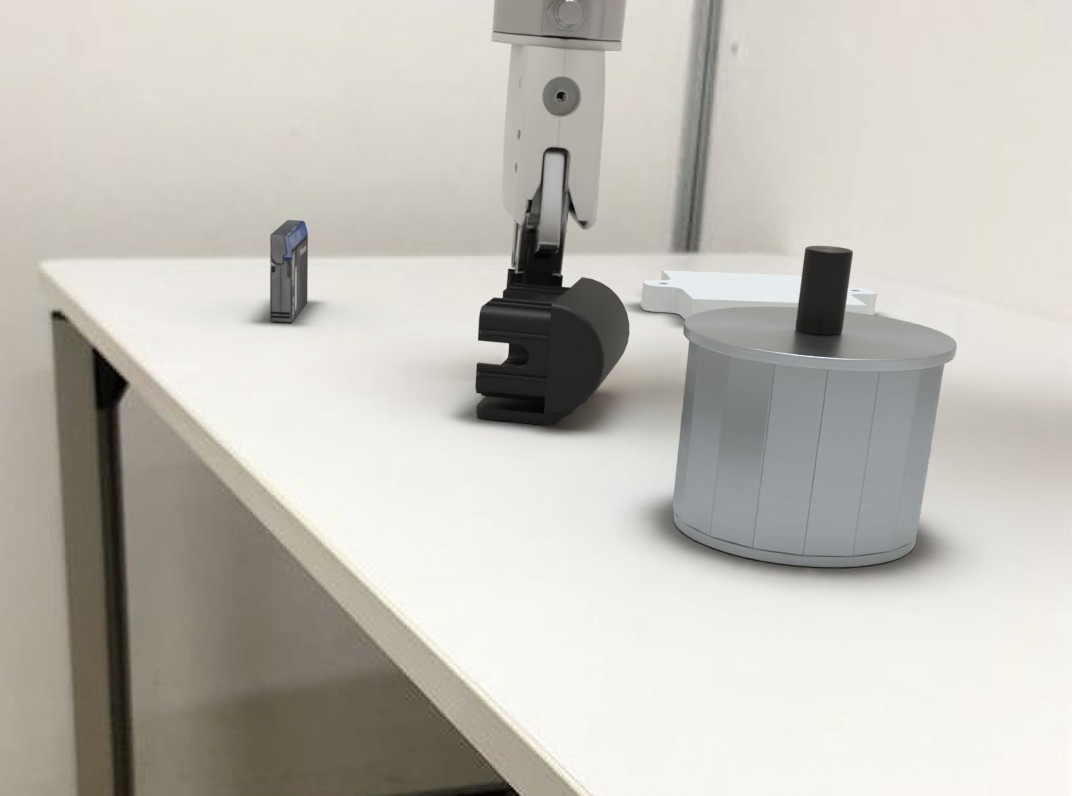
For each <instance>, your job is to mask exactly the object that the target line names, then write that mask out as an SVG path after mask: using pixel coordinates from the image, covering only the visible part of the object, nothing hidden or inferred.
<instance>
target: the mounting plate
mask: <svg viewBox="0 0 1072 796" xmlns="http://www.w3.org/2000/svg"><path fill="white" fill-rule="evenodd" d="M660 276H661V277H660V279H645V280H643V281H642V289H641V301H640V308H641V309H642V310H644V311H646V312H653V313H671V314H677V315H679V316H681V318H682V319H684V321H685V320H686V318H688V317H689V316H691V315H693V314H696V313H699V312H703V311H708V310H714V309H722V308H734V307H798V302H799V294H800V286H801V278H802V275H800V274H799V275H797V274H774V273H773V274H772V273H771V274H770V273H743V272H741V273H740V272H720V271H719V272H718V271H717V272H715V271H692V270H691V271H688V270H664V269H663V270H661V275H660ZM877 295H878V292H877V291H875V290H873V289H871V288H867V287H857V286H856V287H855V286H848V293H847V300H846V307H845V311H846V312H854V313H862V314H869V315H875V311H876V304H877V303H876V302H877Z"/></svg>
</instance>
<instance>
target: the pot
mask: <svg viewBox="0 0 1072 796" xmlns="http://www.w3.org/2000/svg"><path fill="white" fill-rule="evenodd" d="M686 359H687V360H686V368H685V369H686V370H685V378H684V390H683V400H682V409H681V418H680V420H681V421H680V428H679V438H678V449H677V458H676V468H675V477H674V488H673V499H672V509H673V522H674V524H675V526H676V527H677V528H678V530H679V531H681V532H682V533H683V534H684V535H685V536H687V537H689V538H690V539H692V540H693V541H696V542H698V543H700V544H702V545H703V546H707V547H709V548H712V549H715V550H717V551H720V552H724V553H726V554H730V555H734V556H738V557H742V558H746V559H751V560H757V561H760V562H766V563H767V562H768V563H773V564H779V565H787V566H797V567H807V568H809V567H810V568H811V567H812V568H854V567H855V568H856V567H864V566H873V565H878V564H884V563H888V562H892V561H895V560H897V559H901V558H903V557H905V556H906V555H908V554H909V553H910V552H911V551H912V550H913V549H914V547H915V546H916V541H917V535H918V530H919V524H920V518H921V513H922V506H923V501H924V494H925V487H926V483H927V475H928V469H929V462H930V457H931V452H932V451H931V450H932V444H933V440H934V439H933V437H934V432H935V426H936V419H937V413H938V407H939V400H940V394H941V389H942V381H943V376H944V370H945V364H943V365H939V366H935V367H931V368H924V369H917V370H907V371H880V372H868V371H838V370H823V369H812V368H801V367H793V366H785V365H777V364H771V363H764V362H759V361H753V360H748V359H743V358H738V357H734V356H730V355H726V354H722V353H718V352H715V351H712V350H709V349H706V348H704V347H701V346H699V345H697V344H695V343H693V342H691V341H689V340H688V349H687V357H686Z"/></svg>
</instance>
